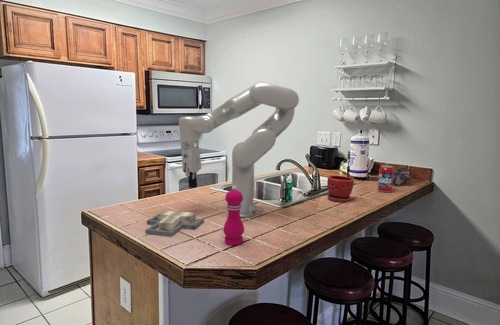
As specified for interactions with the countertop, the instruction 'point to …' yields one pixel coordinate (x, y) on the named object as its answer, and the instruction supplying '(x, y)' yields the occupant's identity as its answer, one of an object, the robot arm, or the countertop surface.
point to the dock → (155, 225)
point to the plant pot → (339, 188)
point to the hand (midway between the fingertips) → (193, 187)
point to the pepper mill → (233, 218)
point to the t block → (174, 219)
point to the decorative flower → (401, 176)
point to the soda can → (385, 178)
